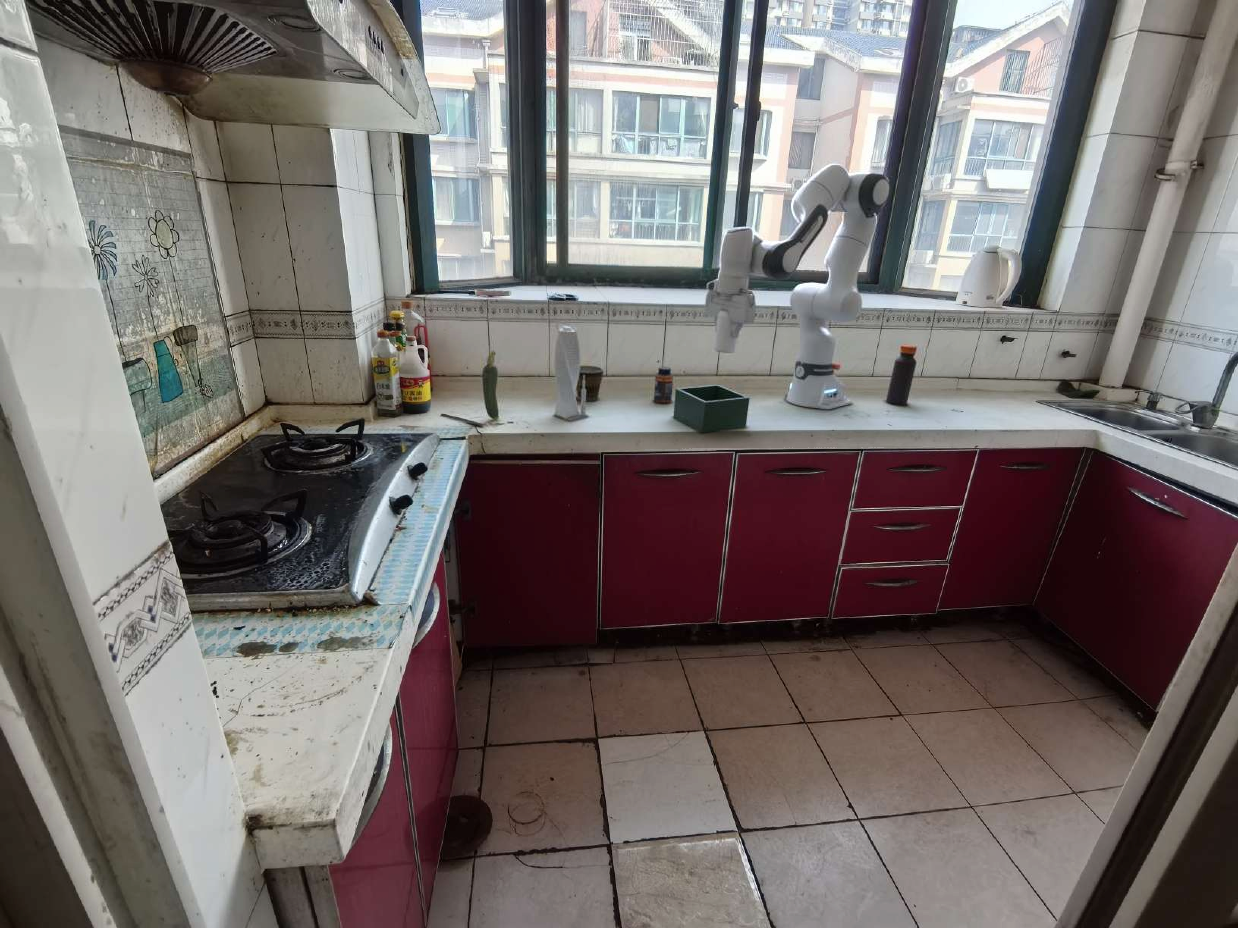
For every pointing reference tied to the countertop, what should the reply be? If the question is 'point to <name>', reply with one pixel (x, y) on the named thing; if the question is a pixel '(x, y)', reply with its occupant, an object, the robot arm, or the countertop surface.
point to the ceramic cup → (589, 382)
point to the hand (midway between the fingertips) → (726, 335)
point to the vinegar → (902, 376)
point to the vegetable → (490, 387)
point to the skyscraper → (568, 373)
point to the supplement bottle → (663, 385)
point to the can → (724, 334)
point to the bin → (711, 408)
